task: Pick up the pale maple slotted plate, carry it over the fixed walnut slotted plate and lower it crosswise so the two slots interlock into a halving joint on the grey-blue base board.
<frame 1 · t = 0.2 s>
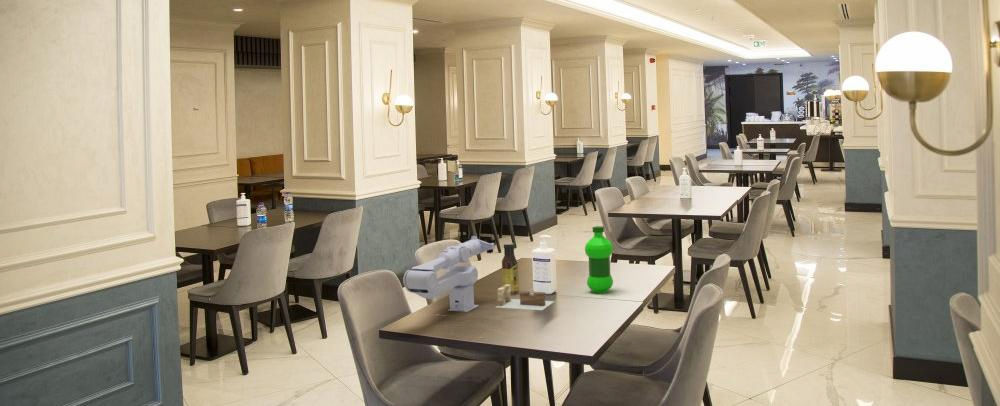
hand: (486, 242, 287), 21 cm above the table, tool horizontal, fingers open, 7 cm apart
lower plate: (532, 304, 271), resting on base board
plastic bottle: (600, 292, 288), on the table
sauce bottle: (511, 295, 291), on the table
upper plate: (504, 303, 275), point 1 cm above the table, touching base board
base board: (525, 305, 272), on the table
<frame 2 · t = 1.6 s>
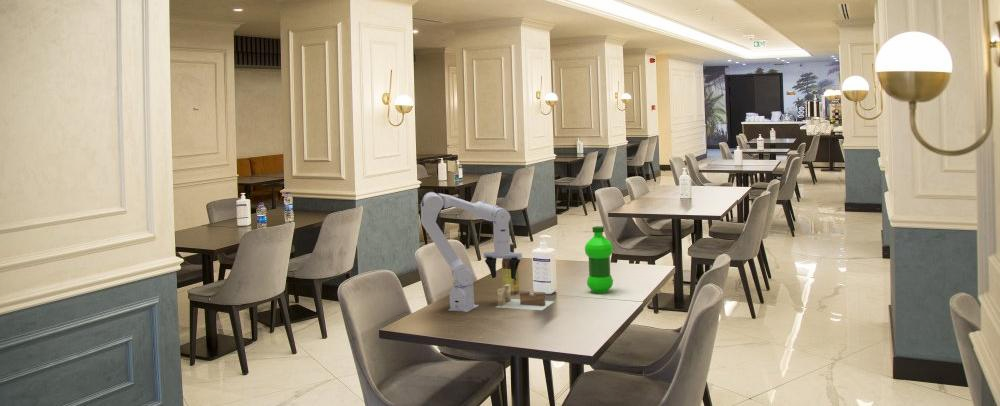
hand: (503, 277, 274), 10 cm above the table, tool pointing down, fingers open, 7 cm apart
nothing on the table moved.
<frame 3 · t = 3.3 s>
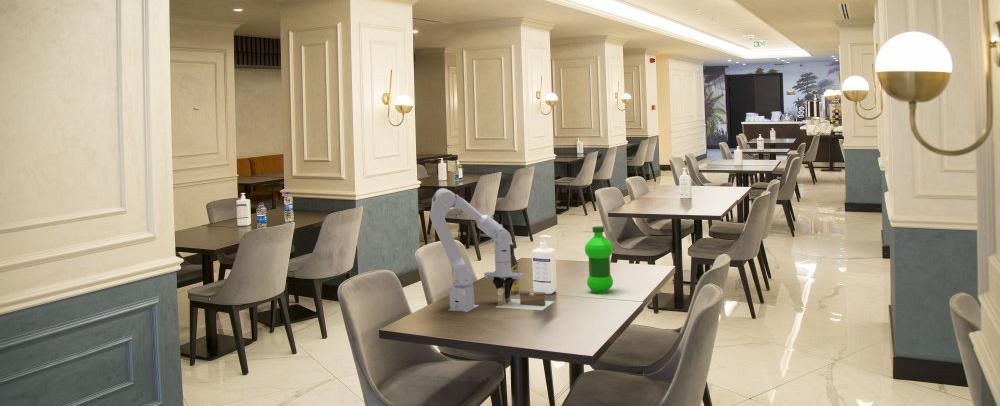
hand: (504, 297, 275), 3 cm above the table, tool pointing down, fingers closed on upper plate, 2 cm apart
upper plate: (504, 303, 275), point 1 cm above the table, touching base board, gripper
everything else where it was.
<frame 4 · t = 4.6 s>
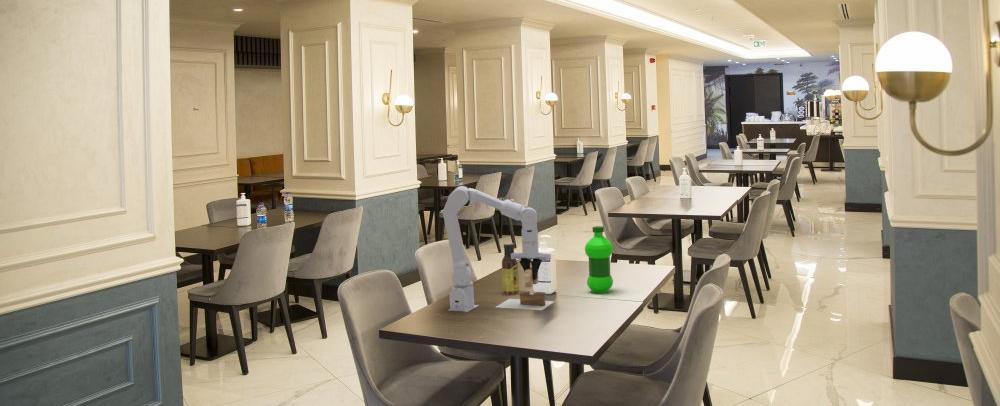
hand: (531, 279, 270), 10 cm above the table, tool pointing down, fingers closed on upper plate
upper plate: (531, 285, 270), point 8 cm above the table, touching gripper
everything else where it was.
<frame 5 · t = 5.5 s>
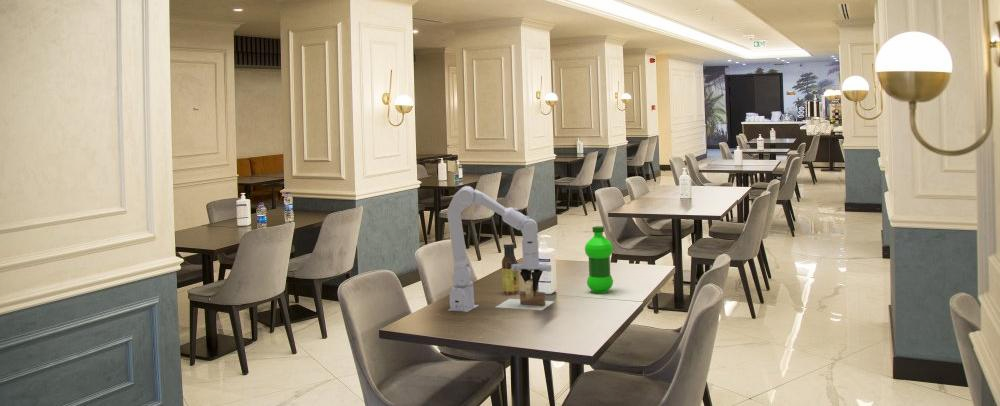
hand: (532, 290, 270), 6 cm above the table, tool pointing down, fingers closed on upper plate
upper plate: (532, 296, 271), point 4 cm above the table, touching gripper
everything else where it was.
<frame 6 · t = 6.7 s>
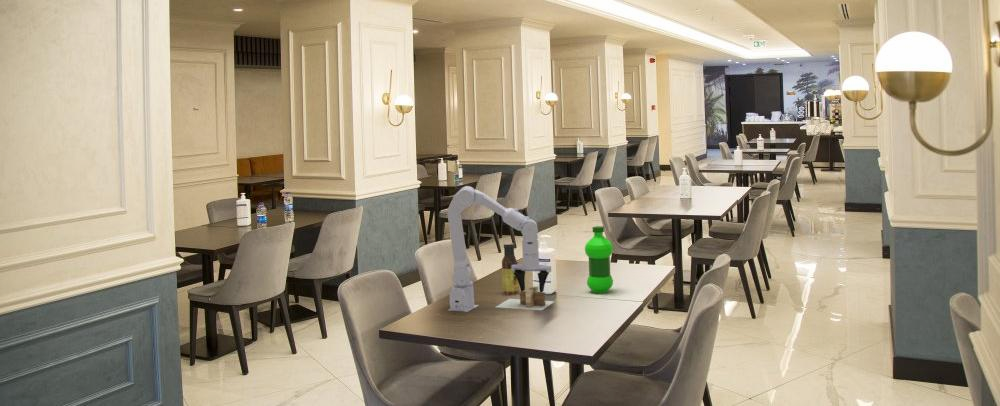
hand: (532, 291, 270), 6 cm above the table, tool pointing down, fingers open, 7 cm apart
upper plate: (532, 304, 271), point 1 cm above the table, touching base board, lower plate
everything else where it was.
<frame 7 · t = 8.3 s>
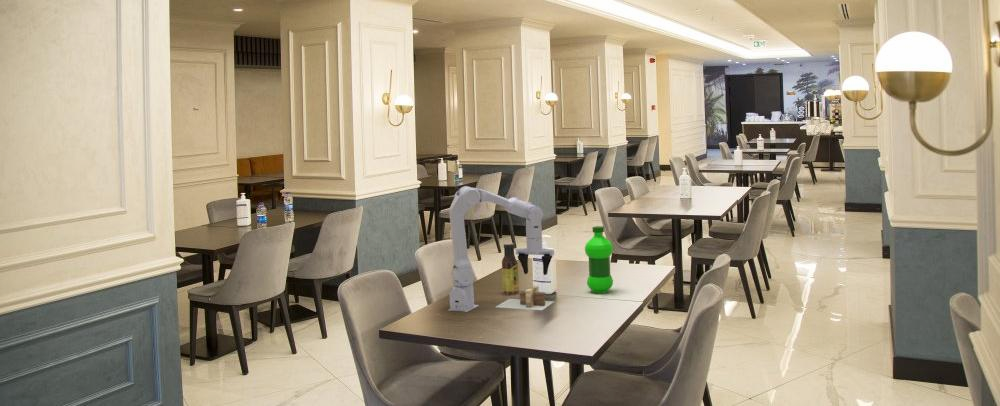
hand: (535, 273, 279), 10 cm above the table, tool pointing down, fingers open, 7 cm apart
nothing on the table moved.
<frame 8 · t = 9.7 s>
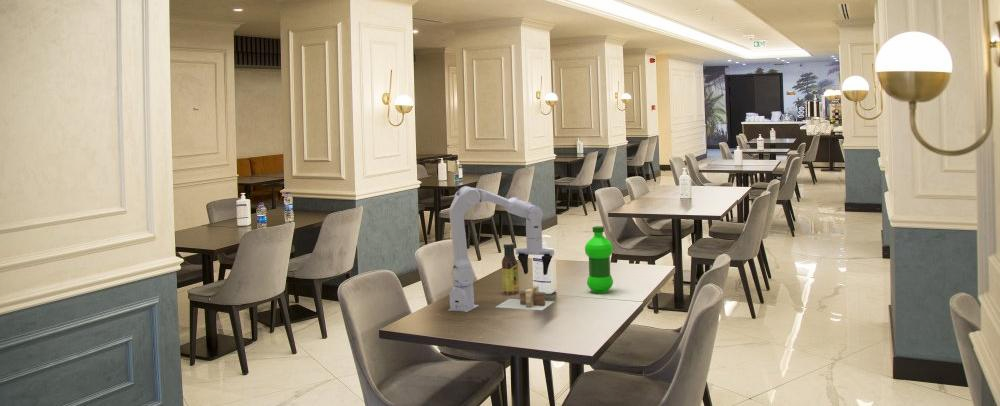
hand: (535, 273, 279), 10 cm above the table, tool pointing down, fingers open, 7 cm apart
nothing on the table moved.
at the end: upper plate 0.0 cm from the target spot, point 0.6 cm above the table; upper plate tilted 0°; the gripper is holding nothing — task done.
